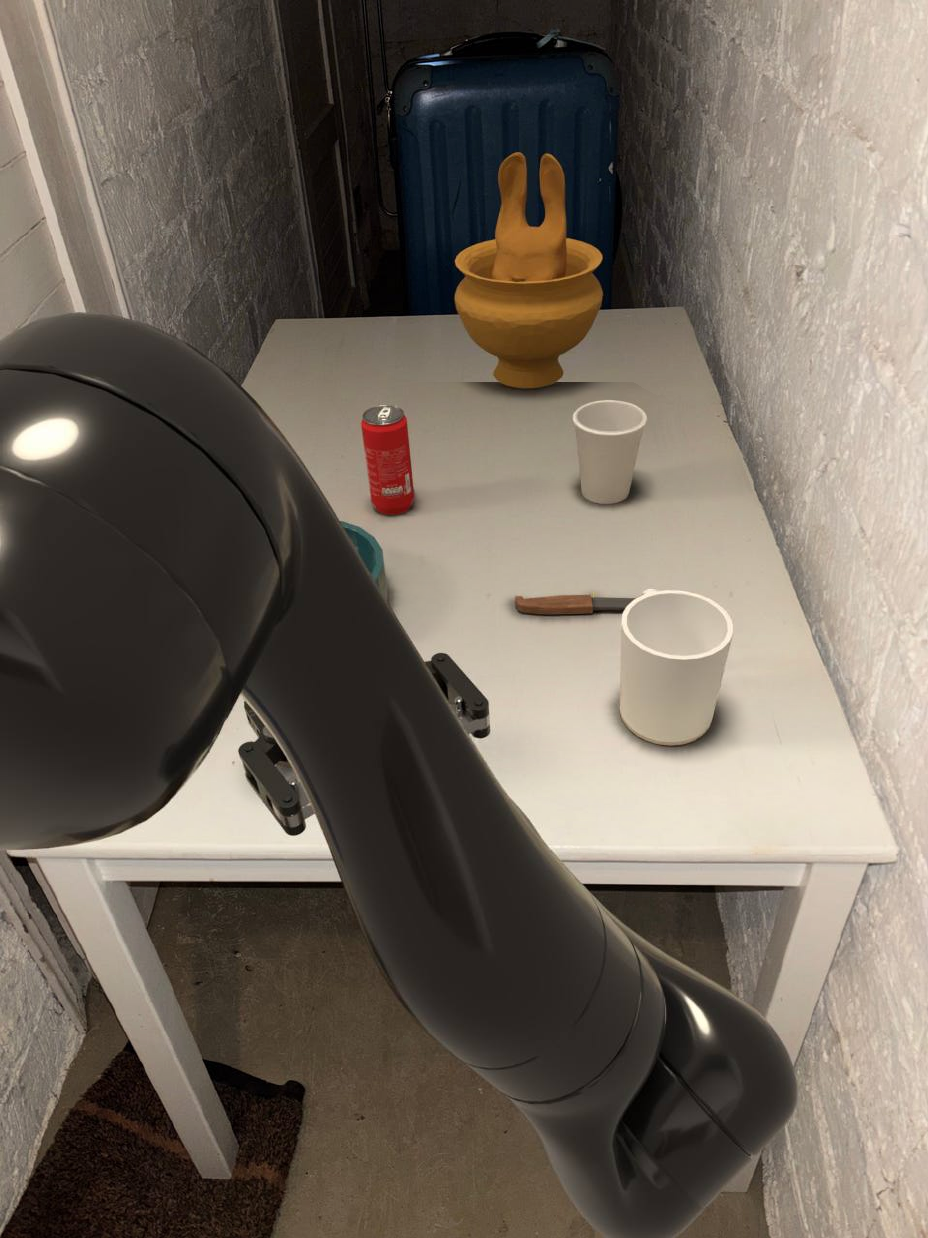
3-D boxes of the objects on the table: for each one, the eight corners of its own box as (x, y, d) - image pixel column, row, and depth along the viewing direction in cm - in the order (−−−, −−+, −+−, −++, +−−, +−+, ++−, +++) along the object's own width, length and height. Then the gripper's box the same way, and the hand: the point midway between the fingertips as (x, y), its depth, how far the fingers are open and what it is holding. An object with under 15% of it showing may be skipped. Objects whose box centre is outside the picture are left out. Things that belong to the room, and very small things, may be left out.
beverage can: (367, 516, 108) (354, 424, 101) (377, 493, 112) (366, 403, 104) (410, 518, 107) (400, 425, 100) (418, 495, 111) (410, 404, 104)
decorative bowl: (436, 393, 133) (420, 170, 114) (488, 339, 148) (482, 134, 129) (574, 412, 126) (582, 179, 107) (615, 353, 141) (628, 139, 122)
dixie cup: (638, 512, 106) (645, 434, 100) (566, 507, 107) (569, 430, 101) (642, 476, 112) (648, 400, 106) (574, 471, 114) (576, 397, 107)
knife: (677, 586, 93) (682, 604, 90) (676, 594, 93) (681, 612, 91) (514, 590, 93) (515, 608, 91) (514, 598, 94) (515, 616, 92)
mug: (734, 739, 78) (752, 648, 71) (635, 759, 76) (644, 668, 70) (683, 657, 86) (695, 568, 80) (593, 674, 85) (598, 585, 78)
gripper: (556, 729, 49) (404, 584, 59) (317, 858, 43) (197, 672, 54) (556, 819, 53) (414, 669, 64) (340, 946, 48) (225, 759, 59)
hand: (315, 671), depth 59 cm, fingers open, 8 cm apart
